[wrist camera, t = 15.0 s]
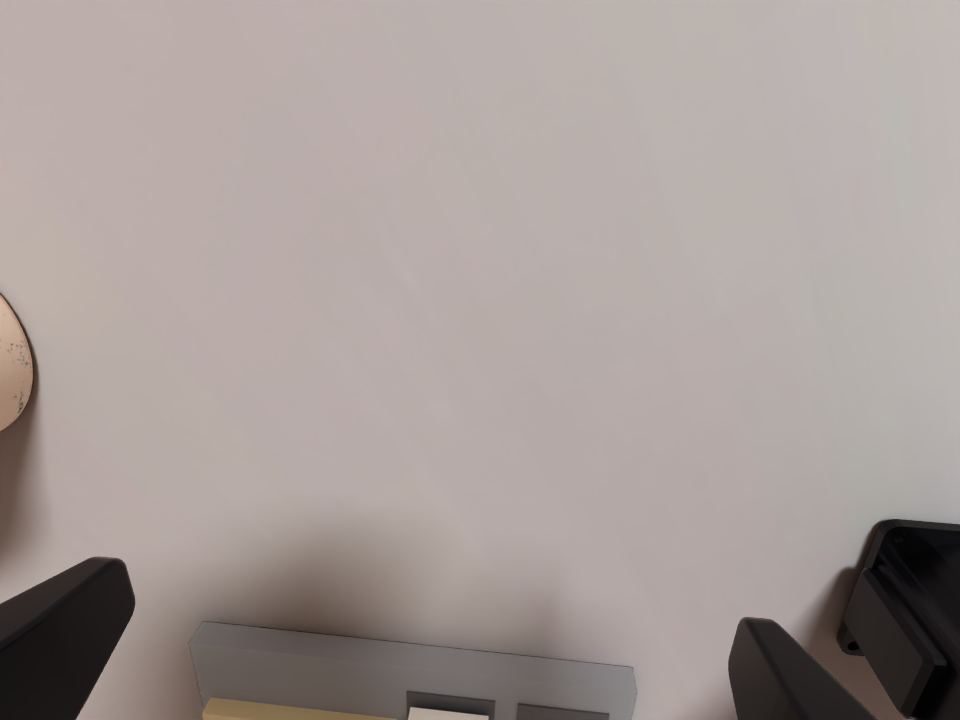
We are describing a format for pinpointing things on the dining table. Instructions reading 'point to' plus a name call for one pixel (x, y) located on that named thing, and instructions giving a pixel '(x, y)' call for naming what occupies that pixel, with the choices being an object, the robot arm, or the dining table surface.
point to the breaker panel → (392, 679)
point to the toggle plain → (441, 715)
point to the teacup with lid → (13, 367)
